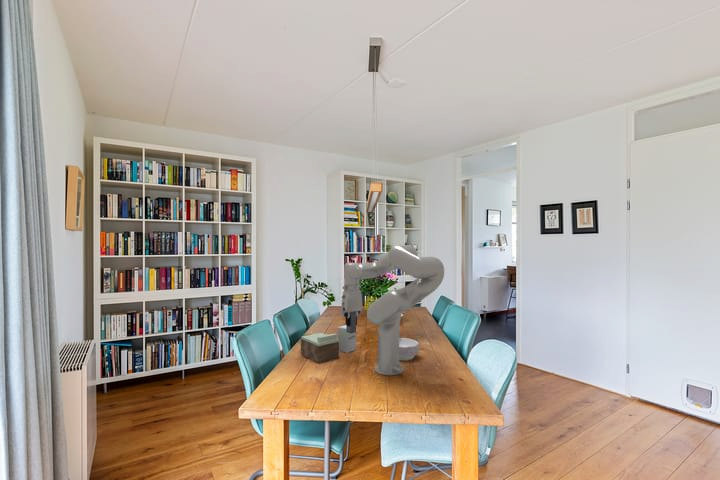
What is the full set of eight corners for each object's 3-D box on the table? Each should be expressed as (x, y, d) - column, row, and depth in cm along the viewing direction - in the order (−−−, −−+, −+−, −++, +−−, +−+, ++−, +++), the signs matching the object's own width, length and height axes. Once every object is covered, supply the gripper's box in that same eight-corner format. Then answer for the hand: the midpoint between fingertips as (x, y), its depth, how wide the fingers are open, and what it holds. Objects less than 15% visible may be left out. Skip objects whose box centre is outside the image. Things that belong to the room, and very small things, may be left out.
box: (338, 358, 173) (338, 342, 173) (318, 363, 165) (318, 346, 165) (315, 347, 190) (315, 333, 190) (295, 352, 182) (295, 336, 182)
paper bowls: (415, 364, 165) (415, 347, 165) (384, 360, 170) (384, 344, 170) (420, 354, 179) (420, 339, 179) (392, 351, 184) (392, 336, 184)
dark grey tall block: (356, 332, 172) (356, 312, 171) (350, 333, 169) (350, 312, 169) (351, 330, 174) (352, 310, 174) (346, 331, 172) (346, 311, 172)
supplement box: (347, 353, 181) (347, 329, 181) (337, 350, 185) (337, 326, 185) (356, 349, 187) (356, 326, 187) (345, 347, 191) (346, 324, 191)
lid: (338, 341, 173) (339, 334, 173) (318, 346, 165) (318, 338, 165) (321, 334, 185) (321, 327, 185) (301, 338, 178) (301, 331, 178)
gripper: (342, 290, 164) (342, 329, 164) (369, 287, 174) (368, 324, 174) (333, 288, 169) (333, 326, 169) (359, 285, 180) (359, 321, 180)
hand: (351, 324), depth 172 cm, fingers closed on dark grey tall block, 3 cm apart
